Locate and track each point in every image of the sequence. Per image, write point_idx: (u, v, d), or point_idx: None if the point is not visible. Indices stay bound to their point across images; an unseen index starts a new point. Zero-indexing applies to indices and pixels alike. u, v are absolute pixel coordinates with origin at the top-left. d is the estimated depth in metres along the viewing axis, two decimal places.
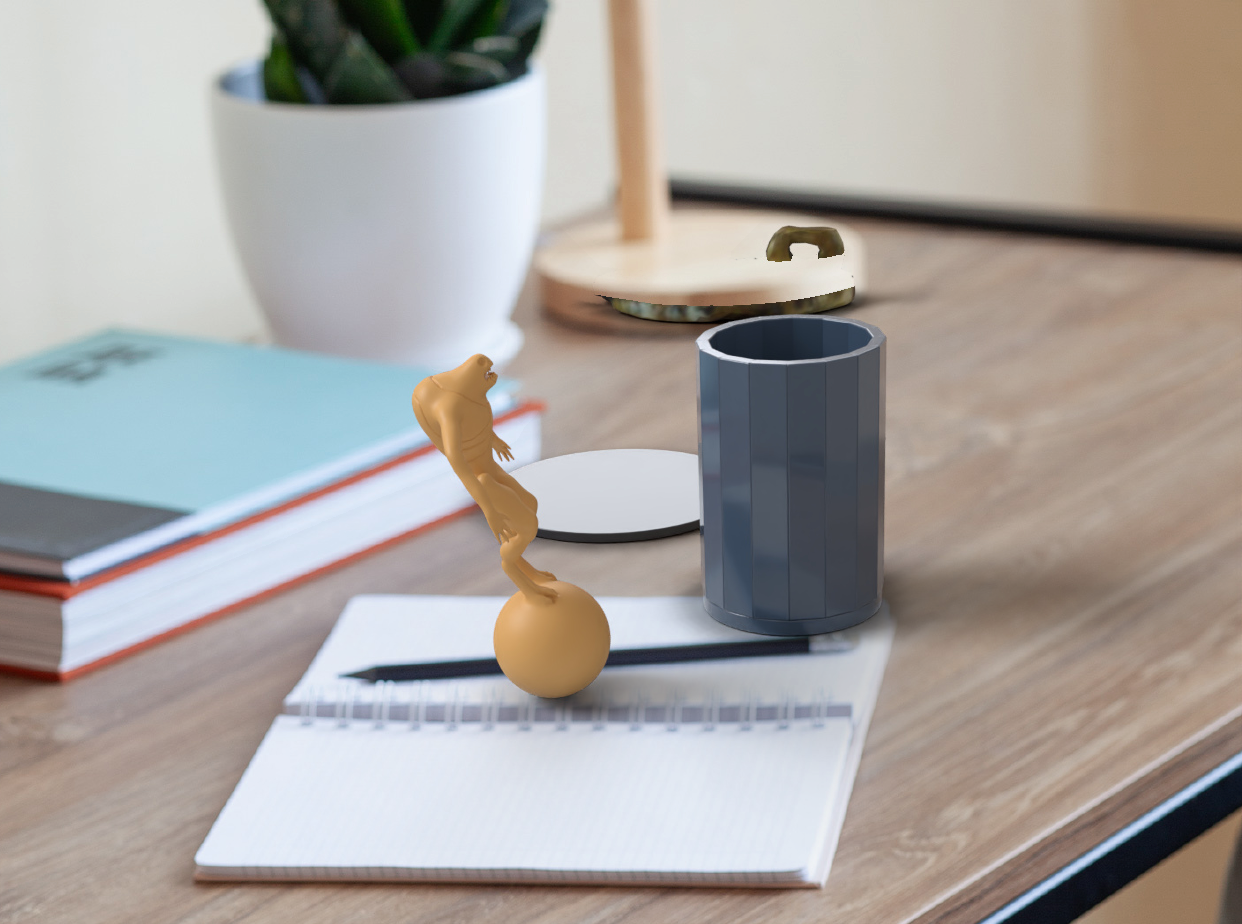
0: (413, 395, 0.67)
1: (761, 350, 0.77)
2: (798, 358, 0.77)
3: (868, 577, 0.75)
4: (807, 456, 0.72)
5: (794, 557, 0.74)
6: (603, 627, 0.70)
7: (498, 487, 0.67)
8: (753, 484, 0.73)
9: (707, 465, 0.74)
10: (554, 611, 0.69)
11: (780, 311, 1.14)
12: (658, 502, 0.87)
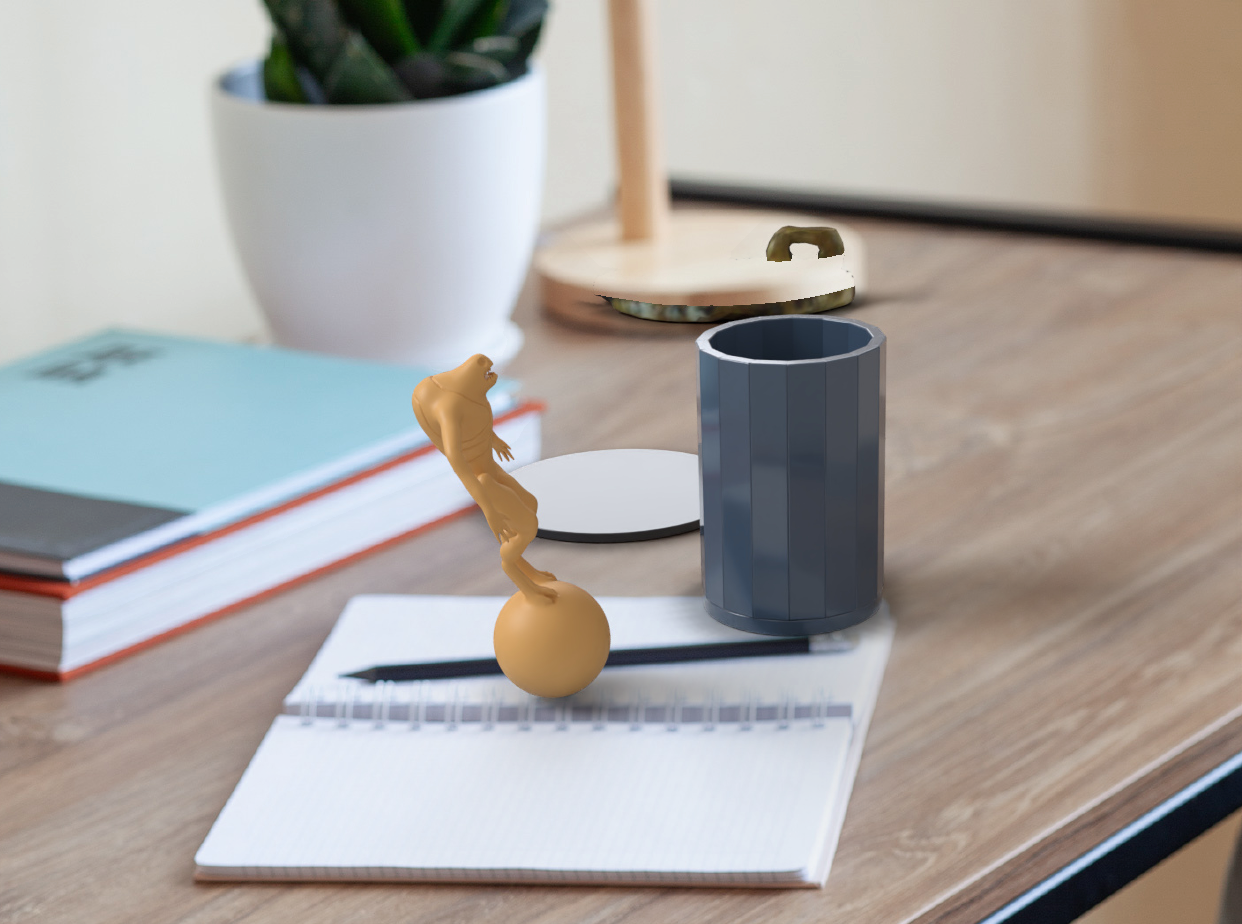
0: (413, 395, 0.67)
1: (761, 350, 0.77)
2: (798, 358, 0.77)
3: (868, 577, 0.75)
4: (807, 456, 0.72)
5: (794, 557, 0.74)
6: (603, 627, 0.70)
7: (498, 487, 0.67)
8: (753, 484, 0.73)
9: (707, 465, 0.74)
10: (554, 611, 0.69)
11: (780, 311, 1.14)
12: (658, 502, 0.87)
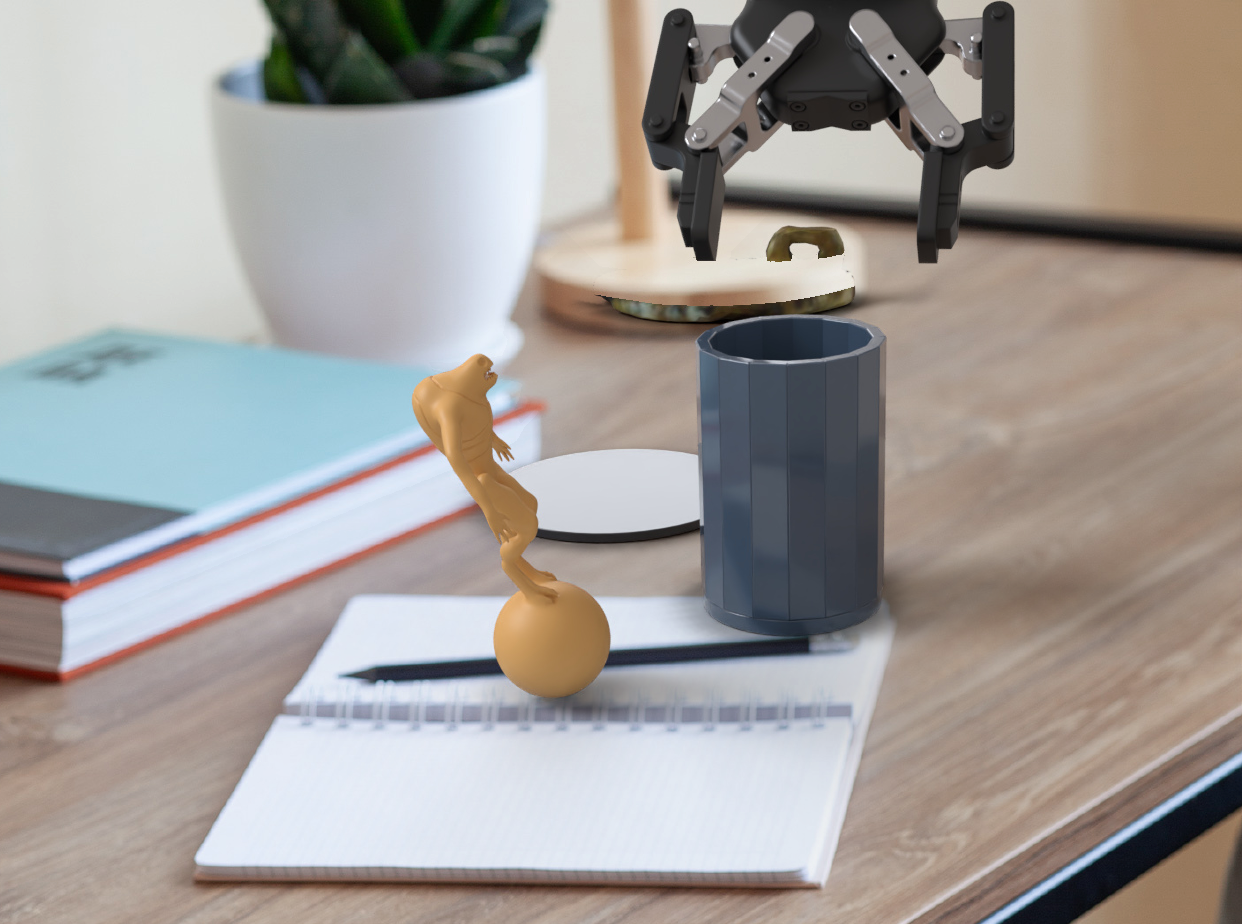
0: (413, 395, 0.67)
1: (761, 350, 0.77)
2: (798, 358, 0.77)
3: (868, 577, 0.75)
4: (807, 456, 0.72)
5: (794, 557, 0.74)
6: (603, 627, 0.70)
7: (498, 487, 0.67)
8: (753, 484, 0.73)
9: (707, 465, 0.74)
10: (554, 611, 0.69)
11: (780, 311, 1.14)
12: (658, 502, 0.87)
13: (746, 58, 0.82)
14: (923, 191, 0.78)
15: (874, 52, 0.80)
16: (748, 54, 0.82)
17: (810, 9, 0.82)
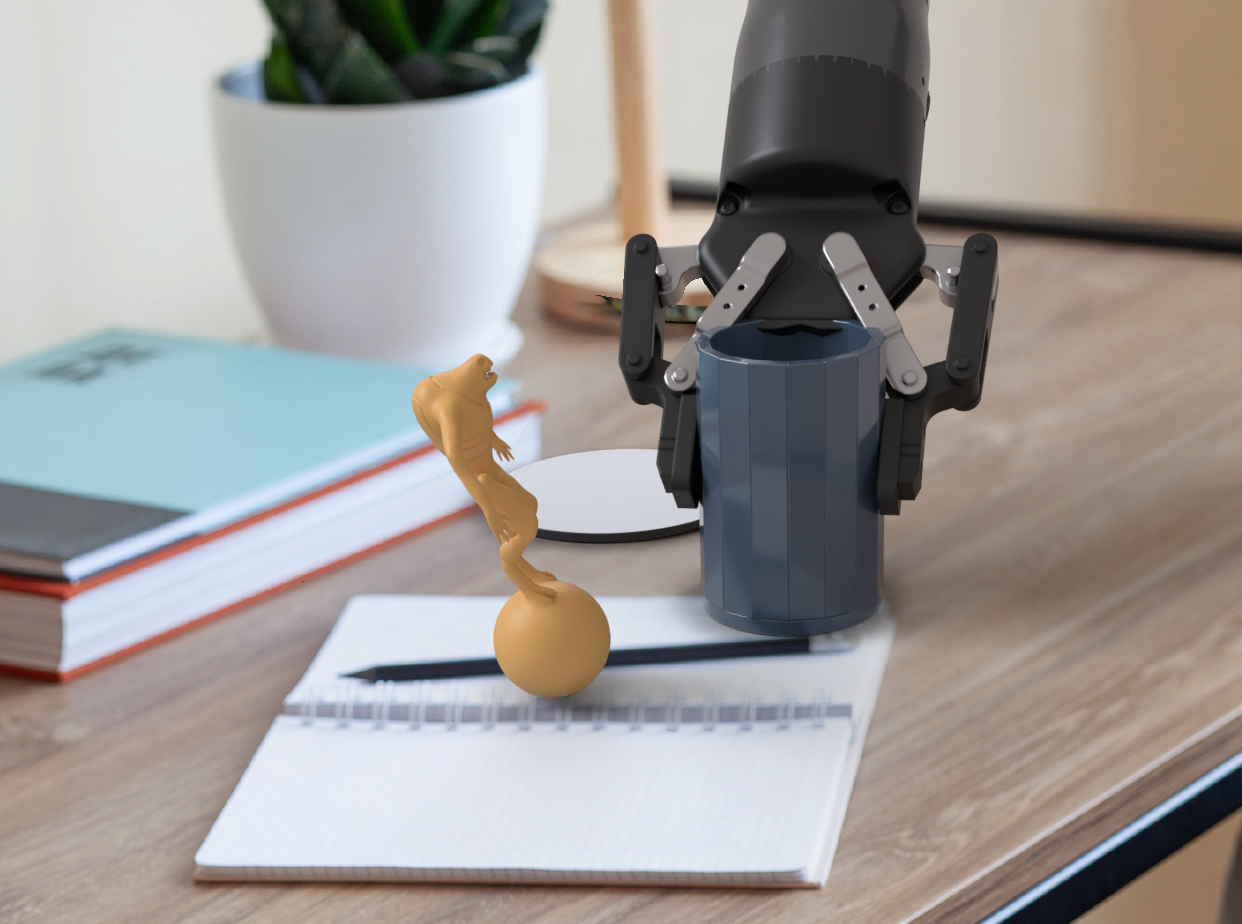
0: (413, 395, 0.67)
1: (761, 350, 0.77)
2: (798, 358, 0.77)
3: (868, 577, 0.75)
4: (807, 456, 0.72)
5: (794, 558, 0.74)
6: (603, 627, 0.70)
7: (498, 487, 0.67)
8: (753, 484, 0.73)
9: (707, 465, 0.74)
10: (554, 611, 0.69)
11: None
12: (658, 502, 0.87)
13: (714, 280, 0.77)
14: (883, 442, 0.73)
15: (845, 280, 0.75)
16: (716, 276, 0.77)
17: (782, 227, 0.77)
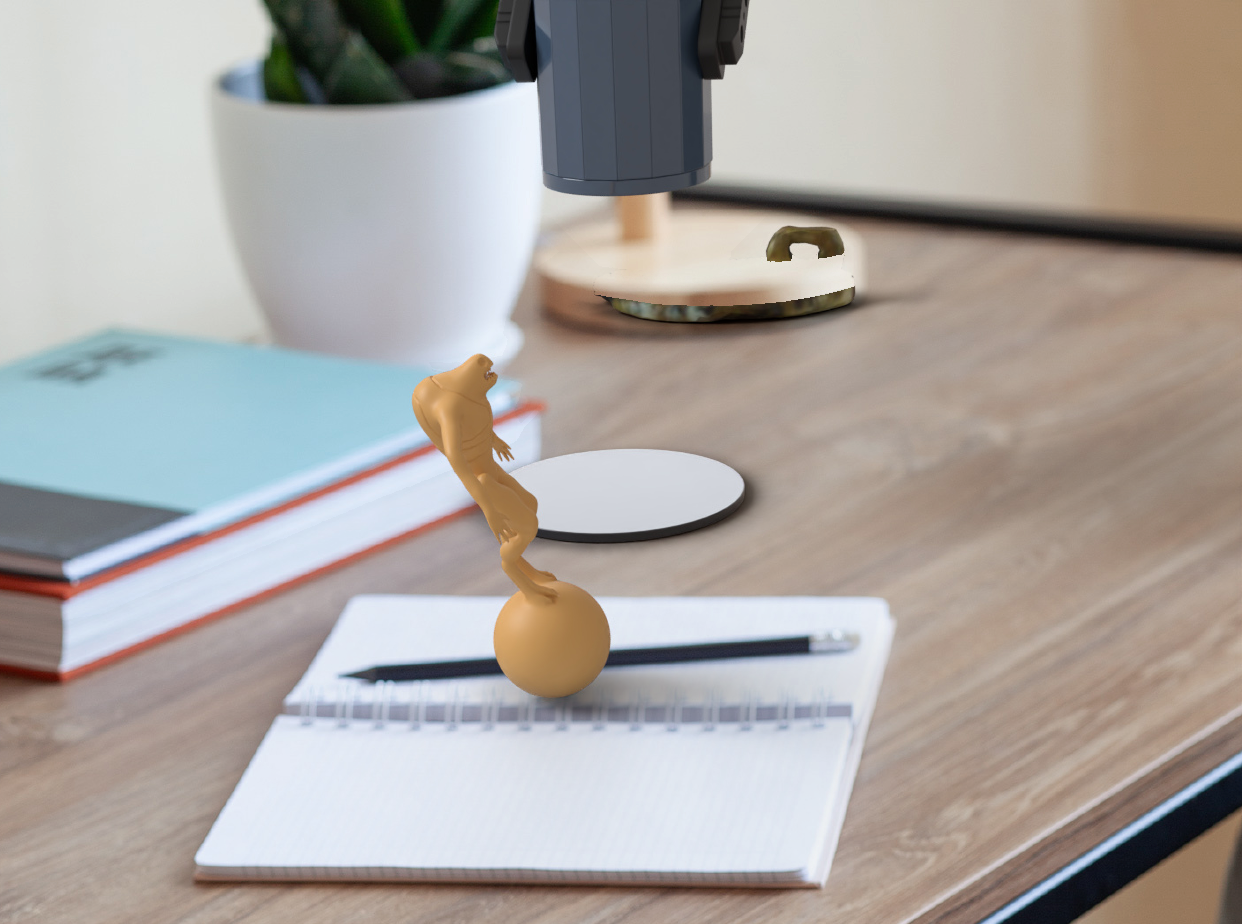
0: (413, 395, 0.67)
1: None
2: None
3: (694, 142, 0.79)
4: (630, 9, 0.76)
5: (620, 114, 0.77)
6: (603, 627, 0.70)
7: (498, 487, 0.67)
8: (580, 41, 0.77)
9: (540, 31, 0.78)
10: (554, 611, 0.69)
11: (780, 311, 1.14)
12: (658, 502, 0.87)
13: None
14: (705, 4, 0.77)
15: None
16: None
17: None
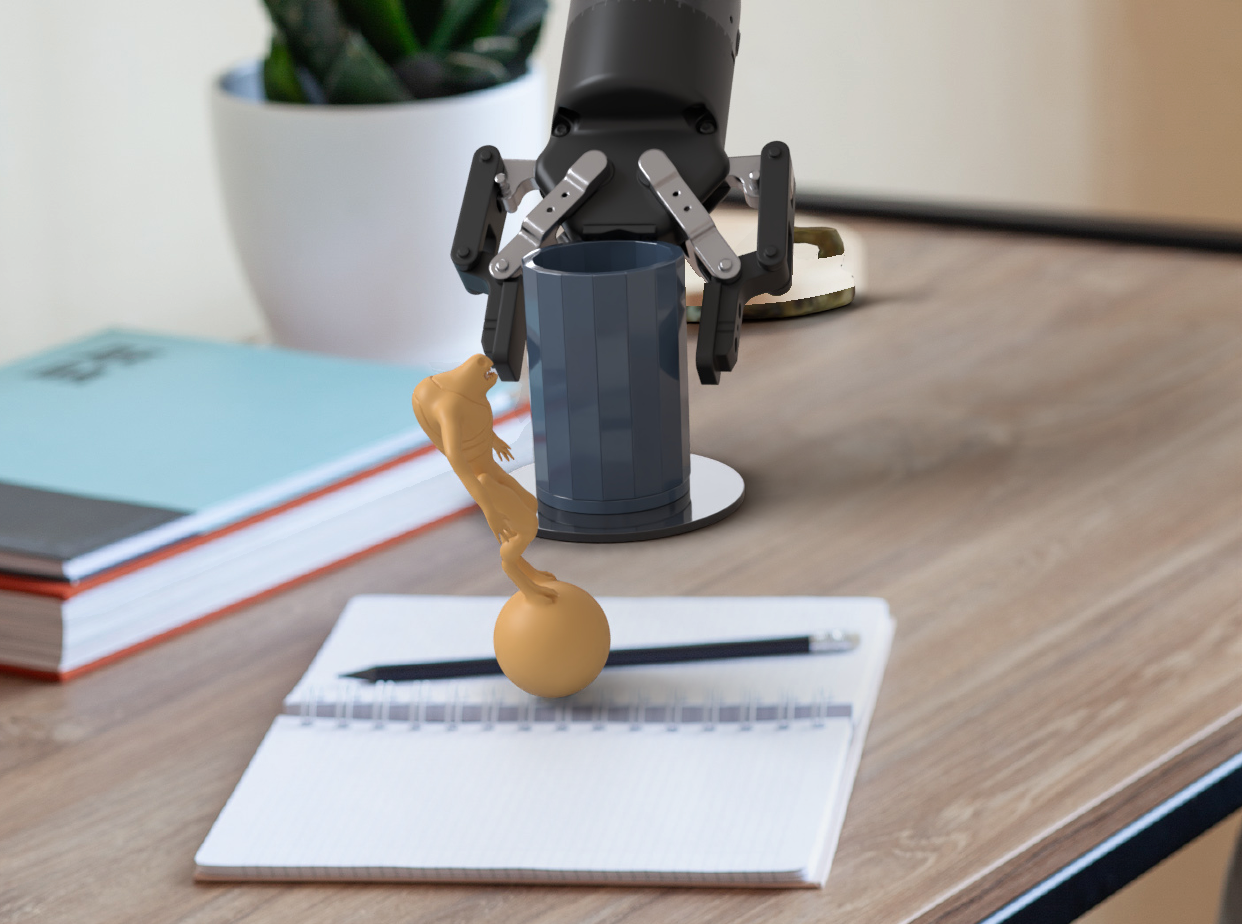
0: (413, 395, 0.67)
1: (583, 269, 0.88)
2: None
3: (673, 464, 0.87)
4: (613, 356, 0.84)
5: (605, 445, 0.85)
6: (603, 627, 0.70)
7: (498, 487, 0.67)
8: (569, 381, 0.84)
9: (532, 366, 0.86)
10: (554, 611, 0.69)
11: (780, 311, 1.14)
12: None
13: (547, 192, 0.89)
14: (702, 320, 0.85)
15: (660, 189, 0.87)
16: (549, 189, 0.89)
17: (606, 146, 0.89)
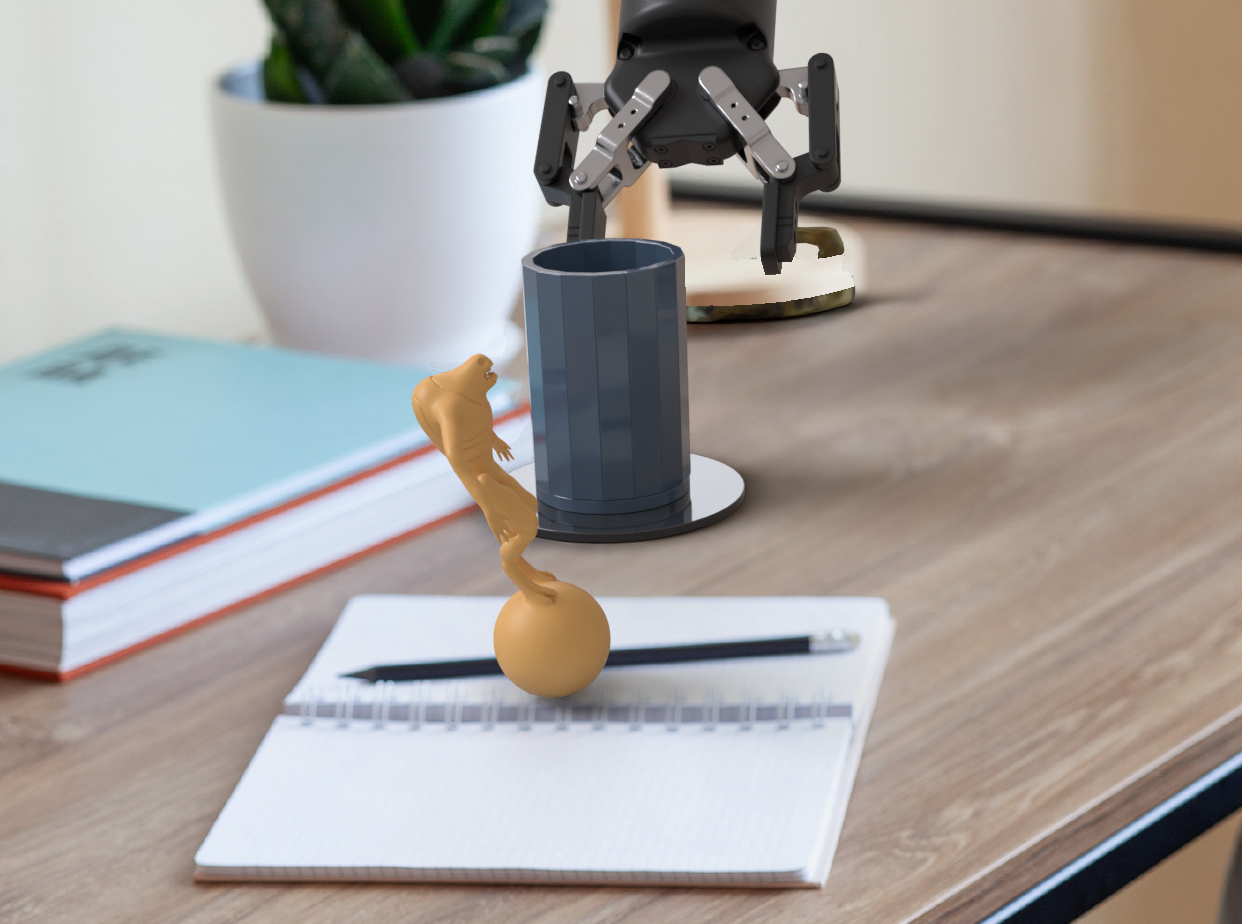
0: (413, 395, 0.67)
1: (583, 269, 0.88)
2: None
3: (673, 464, 0.87)
4: (613, 356, 0.84)
5: (605, 445, 0.85)
6: (603, 627, 0.70)
7: (498, 487, 0.67)
8: (569, 381, 0.84)
9: (532, 366, 0.86)
10: (554, 611, 0.69)
11: (780, 311, 1.14)
12: None
13: (617, 110, 0.99)
14: (764, 216, 0.95)
15: (720, 101, 0.97)
16: (618, 107, 0.99)
17: (667, 67, 0.99)
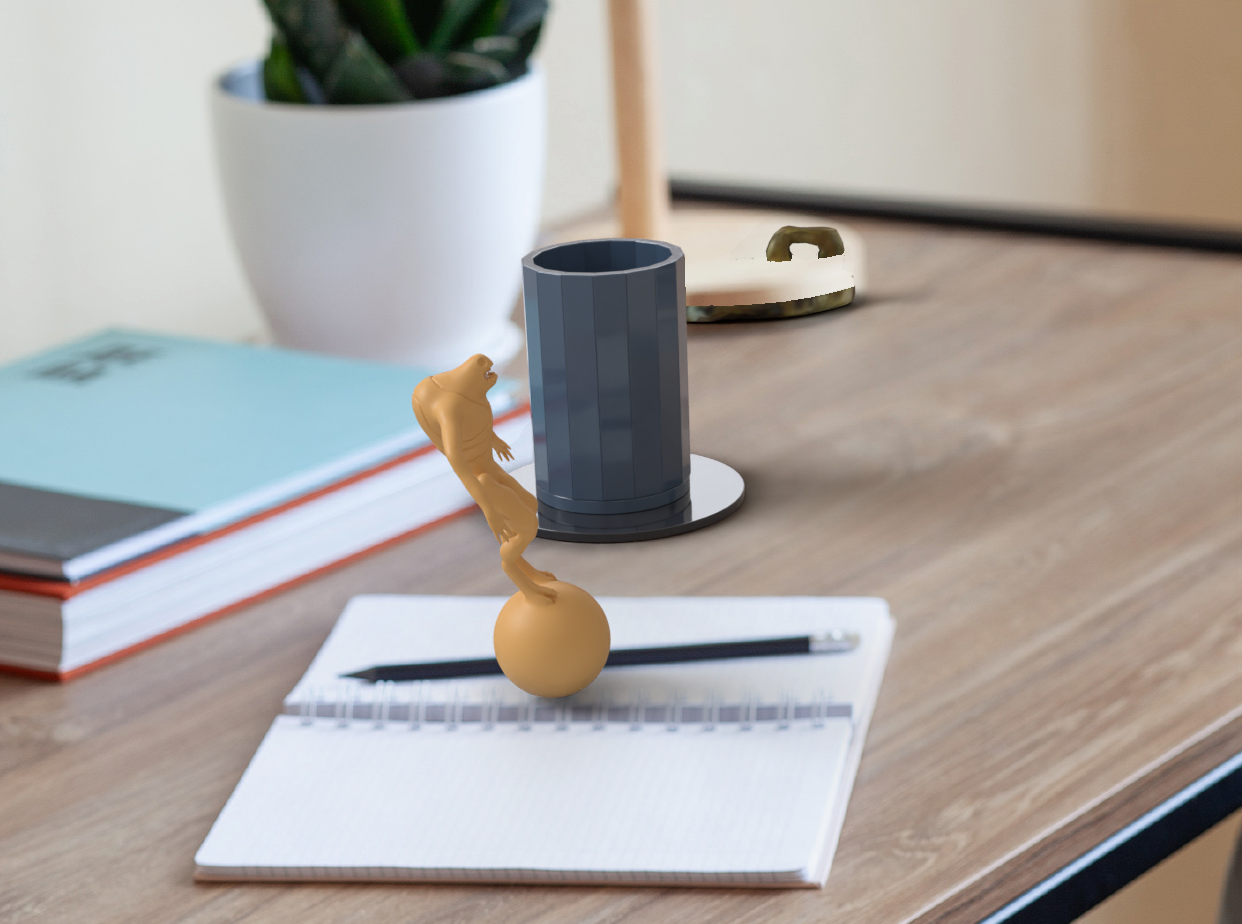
0: (413, 395, 0.67)
1: (583, 269, 0.88)
2: None
3: (673, 464, 0.87)
4: (613, 356, 0.84)
5: (605, 445, 0.85)
6: (603, 627, 0.70)
7: (498, 487, 0.67)
8: (569, 381, 0.84)
9: (532, 366, 0.86)
10: (554, 611, 0.69)
11: (780, 311, 1.14)
12: None
13: None
14: None
15: None
16: None
17: None
